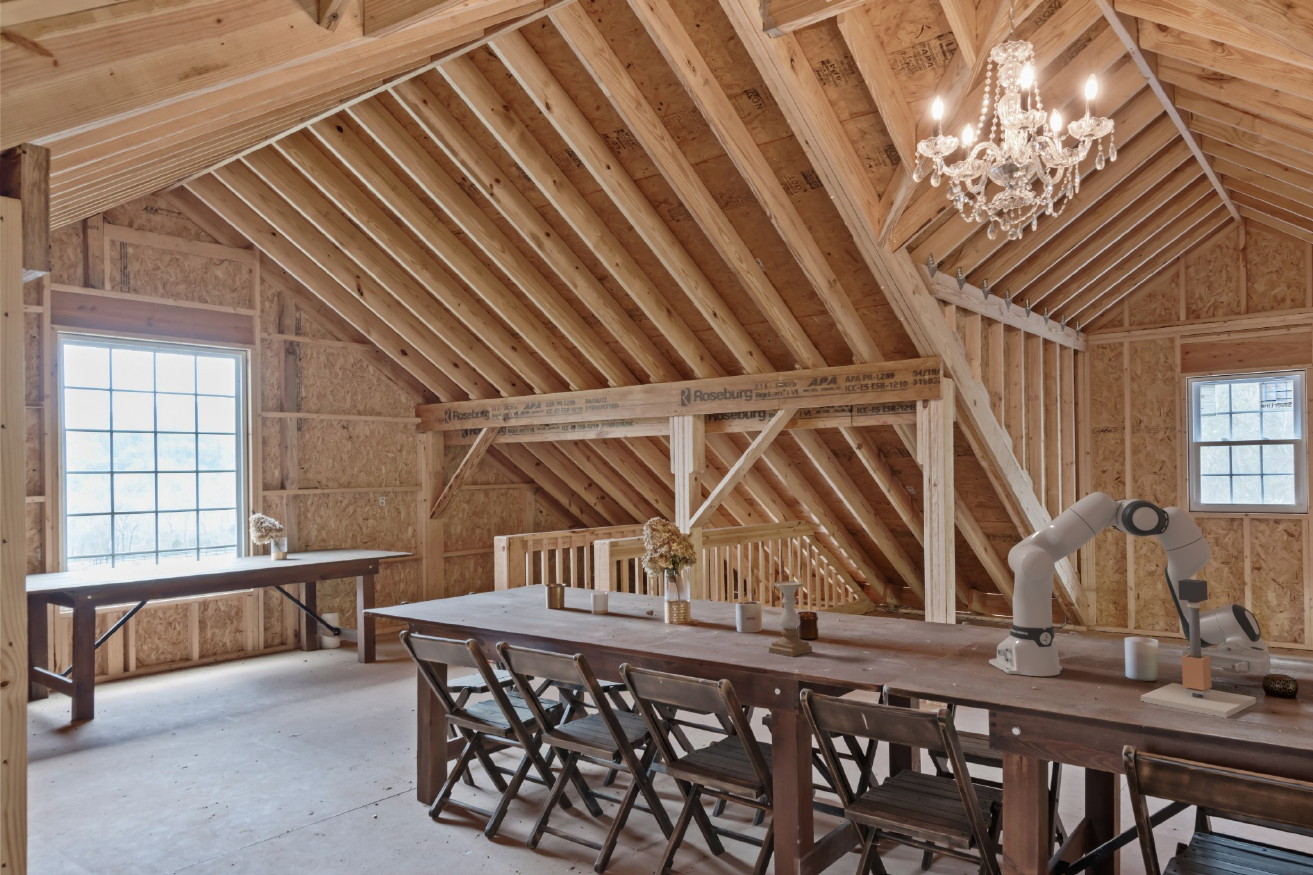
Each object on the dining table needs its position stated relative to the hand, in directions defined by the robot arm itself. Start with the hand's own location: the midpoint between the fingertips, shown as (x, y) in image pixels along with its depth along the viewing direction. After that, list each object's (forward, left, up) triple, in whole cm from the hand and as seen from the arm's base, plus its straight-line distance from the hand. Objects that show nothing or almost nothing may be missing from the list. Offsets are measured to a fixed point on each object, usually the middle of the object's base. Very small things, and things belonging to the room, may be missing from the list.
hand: (1214, 664), depth 231 cm
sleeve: (+5, -11, -4) cm, 13 cm away
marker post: (+5, -11, -8) cm, 14 cm away
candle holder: (-84, -91, -8) cm, 124 cm away
